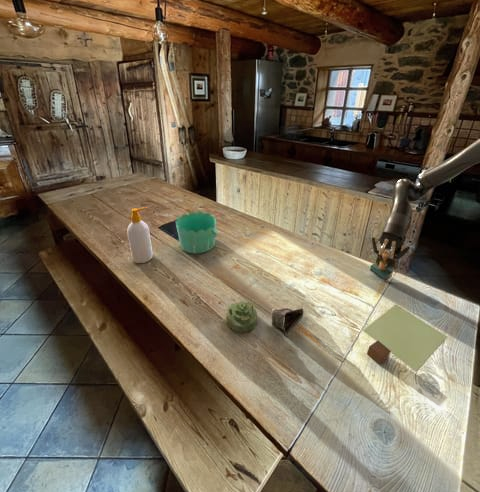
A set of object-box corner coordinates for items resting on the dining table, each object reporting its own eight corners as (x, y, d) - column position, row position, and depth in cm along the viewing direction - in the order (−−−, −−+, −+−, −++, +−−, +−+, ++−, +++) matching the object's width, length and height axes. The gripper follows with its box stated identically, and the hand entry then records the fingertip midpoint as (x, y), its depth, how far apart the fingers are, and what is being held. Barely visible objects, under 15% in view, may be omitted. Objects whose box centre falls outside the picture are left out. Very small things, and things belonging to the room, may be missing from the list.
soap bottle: (155, 260, 116) (148, 211, 105) (132, 265, 112) (122, 215, 102) (153, 250, 123) (146, 203, 113) (132, 254, 120) (122, 206, 109)
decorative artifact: (234, 304, 94) (221, 325, 85) (234, 288, 91) (220, 309, 82) (261, 313, 90) (249, 336, 82) (262, 297, 87) (250, 320, 79)
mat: (395, 305, 94) (395, 303, 94) (446, 338, 82) (447, 336, 82) (361, 331, 84) (362, 330, 84) (415, 373, 72) (415, 371, 72)
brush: (376, 265, 111) (381, 246, 104) (391, 276, 106) (398, 257, 99) (369, 270, 109) (374, 251, 103) (385, 281, 104) (391, 262, 98)
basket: (171, 242, 129) (168, 218, 123) (202, 229, 140) (200, 207, 135) (192, 260, 116) (191, 234, 111) (225, 245, 127) (224, 221, 122)
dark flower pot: (287, 304, 95) (269, 295, 87) (305, 309, 90) (288, 301, 82) (279, 331, 91) (261, 326, 83) (298, 339, 87) (279, 333, 79)
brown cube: (374, 349, 78) (378, 340, 77) (387, 360, 75) (391, 351, 74) (366, 355, 77) (369, 346, 75) (378, 367, 74) (382, 357, 72)
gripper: (414, 234, 105) (401, 275, 101) (376, 224, 112) (363, 262, 108) (417, 228, 99) (403, 271, 95) (376, 217, 106) (362, 257, 102)
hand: (382, 266), depth 102 cm, fingers closed on brush, 2 cm apart
